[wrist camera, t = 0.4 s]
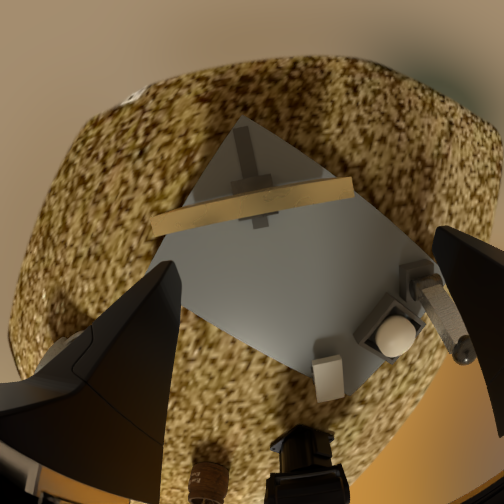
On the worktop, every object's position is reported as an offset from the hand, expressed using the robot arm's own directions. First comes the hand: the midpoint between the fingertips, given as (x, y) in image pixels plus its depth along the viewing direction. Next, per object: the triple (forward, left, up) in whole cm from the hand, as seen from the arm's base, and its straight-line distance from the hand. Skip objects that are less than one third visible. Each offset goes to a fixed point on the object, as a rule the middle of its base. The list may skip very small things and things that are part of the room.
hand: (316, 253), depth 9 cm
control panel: (-3, -5, -16) cm, 17 cm away
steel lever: (+2, -13, -11) cm, 17 cm away
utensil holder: (-38, -14, -16) cm, 43 cm away
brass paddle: (0, +2, -13) cm, 13 cm away
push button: (-3, -14, -12) cm, 19 cm away
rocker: (-10, -12, -12) cm, 20 cm away
